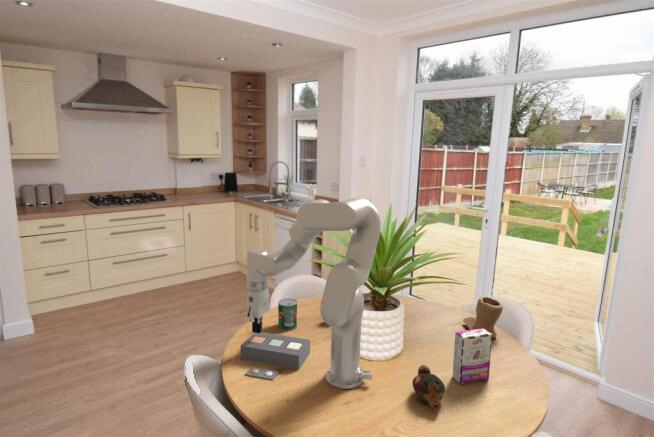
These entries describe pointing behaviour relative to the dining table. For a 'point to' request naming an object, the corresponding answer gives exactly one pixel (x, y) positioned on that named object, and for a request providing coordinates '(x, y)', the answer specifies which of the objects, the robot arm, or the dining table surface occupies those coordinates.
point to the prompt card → (261, 373)
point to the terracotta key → (258, 340)
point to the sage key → (276, 343)
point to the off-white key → (294, 346)
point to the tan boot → (485, 315)
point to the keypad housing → (275, 351)
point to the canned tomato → (287, 314)
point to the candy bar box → (472, 355)
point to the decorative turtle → (428, 387)
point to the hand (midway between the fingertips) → (257, 331)
